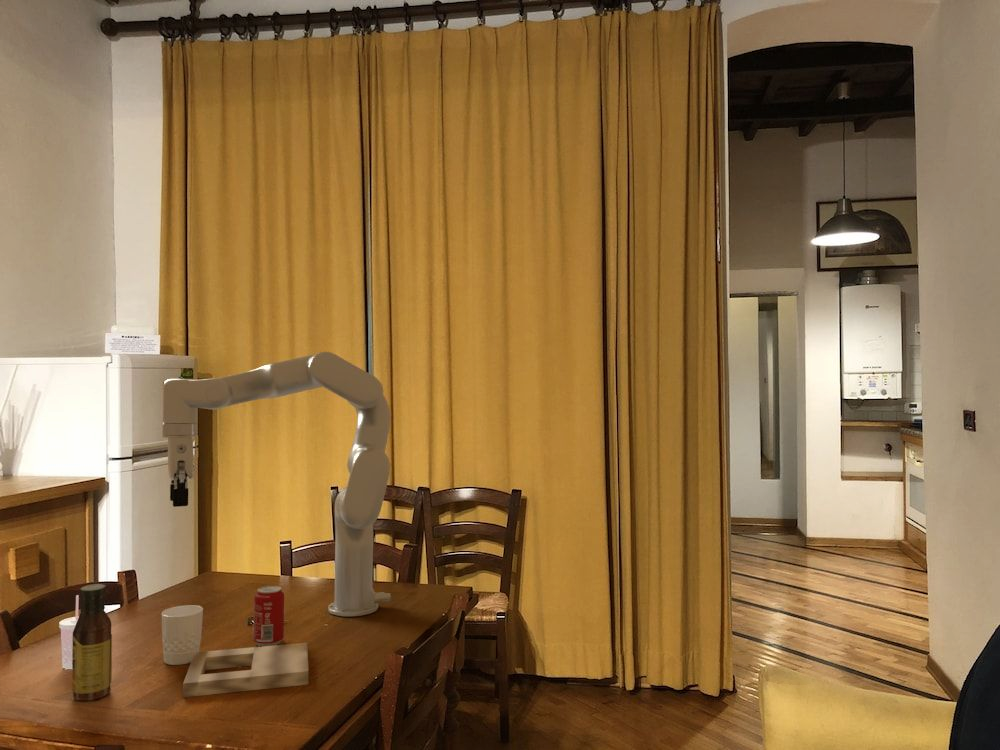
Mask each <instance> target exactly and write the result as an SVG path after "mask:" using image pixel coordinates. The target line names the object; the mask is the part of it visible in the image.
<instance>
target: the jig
mask: <svg viewBox="0 0 1000 750" xmlns="http://www.w3.org/2000/svg"><path fill="white" fill-rule="evenodd" d="M308 654H309V653H308V642H300V643H299V642H296V643H287V644H286V643H285V644H278V645H274V646H262V647H260V646H254V647H253V646H252V647H242V648H230V649H229V648H228V649H217V650H207V651H199V652H195V653H194V656H193V659H192V661H191V662H190V663H189V666H188V670H187V672H186V675H185V678H184V680H183V682H182V698H191V697H200V696H210V695H218V694H219V695H220V694H228V693H239V692H247V691H249V692H250V691H257V690H258V691H259V690H267V689H277V688H288V687H297V686H306V685H308V686H309V655H308ZM243 667H244V668H245V667H251V669H247V670H244V669H243V670H236V671H234V670H233V671H224V672H217V673H216V672H215V673H206V671H209V670H219V669H230V668H231V669H232V668H243Z"/></svg>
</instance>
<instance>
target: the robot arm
mask: <svg viewBox="0 0 1000 750" xmlns="http://www.w3.org/2000/svg"><path fill="white" fill-rule="evenodd" d="M162 387H163V391H162V434H161V435H162V436H161V437H162V438H164V439H165V438H167V465H168V466H167V469H168V475H169V478H170V479H171V480H170V483H169V485H170V487H169V495H170V496H169V500H170V502H171V501H172V506H173V507H187V506H188V505H189V487H188V483H189V481H188V478H189V479H190V480H192V479H193V478H194V439H193V438H196V437H198V408H199V409H204V410H205V409H207V410H214V411H215V410H220V409H223V408H226V407H230V406H234V405H239V404H243V403H248V402H252V401H257V400H262V399H264V400H265V399H274V398H281V397H284V396H288V395H292V394H296V393H301V392H305V391H310V390H314V389H318V388H322V387H323V388H325V389H326V390H328V391H330V392H332V393H334V394H335V395H337V396H339V397H341V398H342V399H345V400H347V402H348V403H349V405H351V406H352V407H354V409H355V411H356V414H357V415H356V416H357V417H356V420H357V421H356V428H355V432H354V436H353V441H352V445H351V449H350V451H349V452H350V453H349V455H348V458H347V463H346V466H347V470H348V473H349V477H348V480H347V486H345V487H344V488H342V489H341V490H340V491H339V492H338V494H337V496H336V498H335V500H334V526H335V527H334V528H335V530H334V531H335V532H334V533H335V535H334V536H335V543H334V544H335V548H334V553H335V554H334V601H333V602H331V603H329V604H328V605H327V606H328V607H327V611H328V612H329V614H331V615H333V616H334V615H335V616H337V617H347V618H348V617H361V616H366V615H370V614H373V613H374V612H377V611H378V609H379V602H391V599H392V598H391V597H392V595H391V592H390V593H389V592H388V593H387V592H386V593H385V592H384V591H380V592H376V591H375V590H374V587H373V576H374V575H373V568H374V567H373V563H374V561H373V559H374V558H373V557H374V553H373V552H374V524H375V522H376V521H377V519H378V518H379V516H380V513H381V511H382V506H383V503H384V500H385V499H384V498H385V495H386V491H387V487H388V482H389V478H390V473H391V472H390V471H391V461H390V459H389V457H388V455H387V453H386V448H387V443H388V437H389V433H390V429H391V420H392V419H391V417H392V416H391V409H390V406H389V403H388V401H387V398H386V397H385V395H384V387H383V385H382V383H381V381H380V380H379V379H378V378H377V377H376V376H374V375H372V374H371V373H369V372H367V371H366V370H363V369H362V368H360V367H358V366H356V365H354V364H352V363H351V362H349V361H348V360H346V359H344V358H343V357H341V356H339V355H337V354H335V353H333V352H329V351H322V352H318V353H315V354H309V355H306V356H301V357H300V356H299V357H295V358H291V359H287V360H283V361H278V362H277V361H276V362H272V363H268V364H265V365H263V366H260V367H258V368H255V369H252V370H249V371H246V372H245V371H244V372H241V373H237V374H231V375H227V376H223V377H222V376H221V377H218V378H217V377H214V378H213V377H212V378H205V379H192V378H191V379H190V378H170V379H169V378H168V379H167V380H165V381H164V383H163V386H162Z"/></svg>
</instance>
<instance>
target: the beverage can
mask: <svg viewBox="0 0 1000 750" xmlns="http://www.w3.org/2000/svg"><path fill="white" fill-rule="evenodd" d="M253 598H254V600H253V642H254V643H255V644H256V645H257V647H260V646H274V645H277V644H278V645H280V643H281V642H282V641H283V639H284V637H285V635H284V634H285V633H284V631H285V593H284V592H283V591H282V587H281V586H278V585H266V586H262V587H259V588H257V591H256V594H255V595H254V597H253Z"/></svg>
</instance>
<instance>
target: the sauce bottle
mask: <svg viewBox="0 0 1000 750" xmlns="http://www.w3.org/2000/svg"><path fill="white" fill-rule="evenodd" d="M106 588H107V587H106V585H105V584H103V583H94V584H89V585H88V584H87V585H84V586H82V587H81V588H80V592H79V596H80V597H79V598H80V613H79V614H78V616H79V618H78V620H77V623H76V625H75V628H74V631H73V638H72V639H73V650H72V670H71V690H72V694H73V695H72V696H73V698H74V700H75V701H82V702H86V701H87V702H89V701H95V700H96V701H97V700H99V699H102V698H103V697H105V696H107V695H109V693H110V692H111V683H112V680H113V679H112V677H113V676H112V673H113V670H112V669H113V667H112V666H113V665H112V664H113V660H112V657H113V654H112V653H113V642H112V641H113V640H112V639H113V634H112V620H111V618H110V617H109V615H108V614H107V612H106V610H105V608H106V606H105V595H106V592H107V591H106V590H107V589H106Z"/></svg>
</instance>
